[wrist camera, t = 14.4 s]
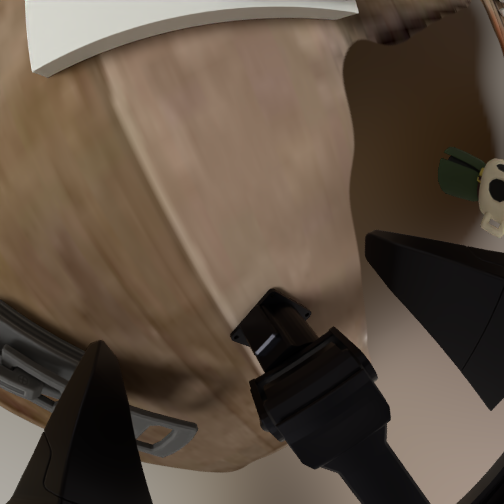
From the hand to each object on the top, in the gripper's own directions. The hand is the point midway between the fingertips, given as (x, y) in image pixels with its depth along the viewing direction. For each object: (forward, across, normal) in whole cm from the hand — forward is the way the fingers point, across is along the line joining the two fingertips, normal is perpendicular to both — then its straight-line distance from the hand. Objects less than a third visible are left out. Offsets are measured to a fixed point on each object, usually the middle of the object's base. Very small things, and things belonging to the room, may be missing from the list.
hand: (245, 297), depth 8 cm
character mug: (+13, -31, +6) cm, 34 cm away
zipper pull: (+13, +17, +12) cm, 25 cm away
